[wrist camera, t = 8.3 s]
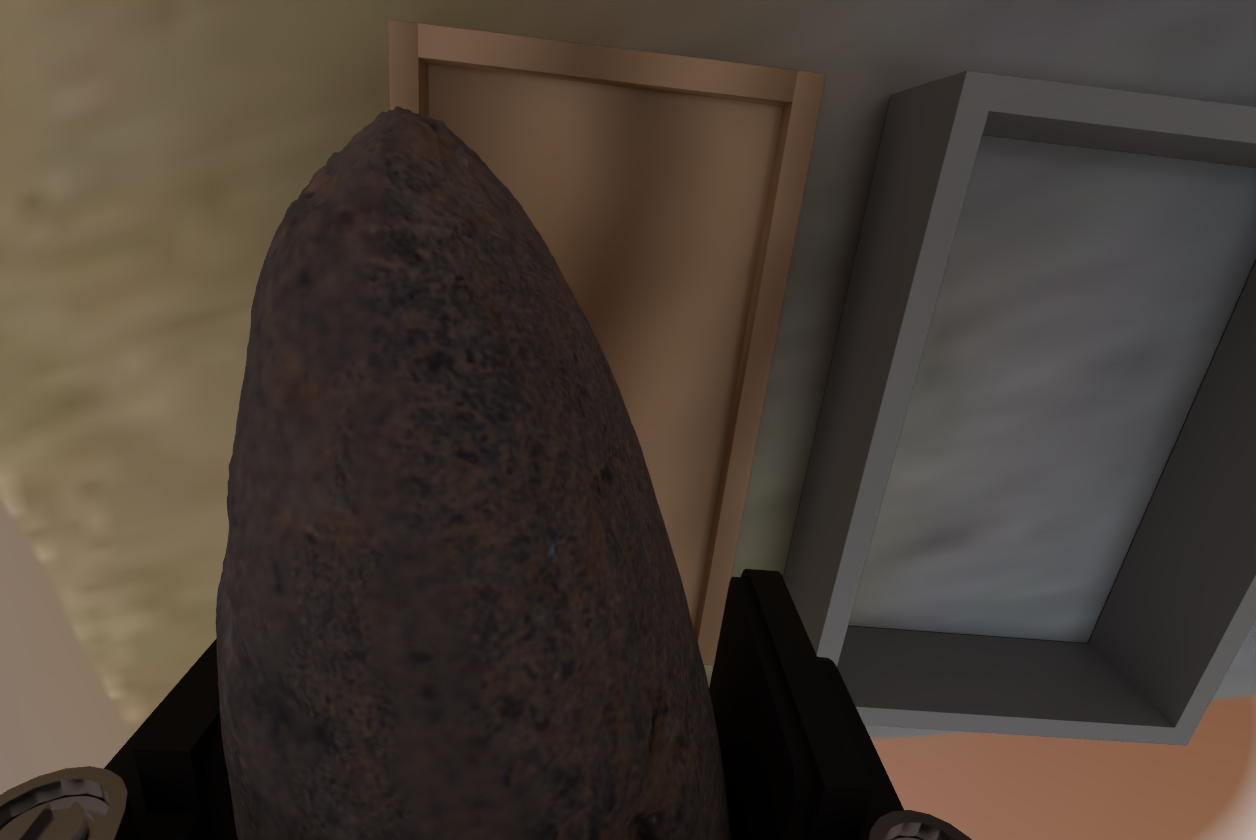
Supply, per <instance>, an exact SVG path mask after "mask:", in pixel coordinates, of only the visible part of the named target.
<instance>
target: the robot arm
mask: <svg viewBox="0 0 1256 840" xmlns="http://www.w3.org/2000/svg"><path fill="white" fill-rule="evenodd" d="M709 692H710V696H711V701H712V706H713V711H714V716H715V721H716V727H717V732H718V738H719V743H720V749H721V755H722V763H723V770H724V779H725V785H726V794H727V801H728V809H729V816H730V826H731V833H732V840H971V839H970V838H969V837H968V836H966V835H965V834H964V833H962V832H961V831H959V830H958V829H956V828H955V827H954V826H952V825H951V824H949V823H947V822H945V821H943V820H941V819H938V818H936V817H934V816H932V815H930V814H925V813H921V812H916V811H912V810H904V809H903V807H902V805H901V802H900V800H899V798H898V796H897V794H896V792H895V790H894V788H893V786H892V783H891V781H890V779H889V777H888V775H887V773H886V770H885V768H884V766H883V764H882V762H881V760H880V758H879V756H878V753H877V751H876V749H875V747H874V745H873V743H872V741H871V738H870V736H869V734H868V732H867V730H866V728H865V726H864V723H863V721H862V719H861V717H860V715H859V713H858V711H857V708H856V706H855V704H854V702H853V700H852V698H851V696H850V693H849V691H848V689H847V687H846V685H845V683H844V681H843V679H842V676H841V674H840V672H839V670H838V668H837V666H836V665H835V663H834V662H833V661H832V660H831V659H829V658H825V657H817V655H816V653H815V650H814V648H813V646H812V643H811V641H810V639H809V636H808V634H807V632H806V630H805V627H804V625H803V623H802V620H801V618H800V616H799V614H798V611H797V609H796V607H795V604H794V602H793V600H792V598H791V595H790V593H789V591H788V588H787V586H786V584H785V581H784V579H783V577H782V575H781V573H780V572H778V571H767V570H754V569H745V570H743V573H742V575H741V577H732V578H731V580H730V582H729V587H728V592H727V597H726V603H725V608H724V613H723V619H722V624H721V629H720V635H719V640H718V645H717V650H716V656H715V661H714V666H713V672H712V677H711V682H710V688H709ZM219 703H220V699H219V687H218V668H217V639H216V640H215V641H214V642H213V643H212V644H211V645H210V647H209V648H208V649H207V650H206V651H205V652H204V654H203V655H202V656H201V657H200V658H199V659H198V660H197V662H196V663H195V664H194V665H193V666H192V667H191V669H190V670H189V671H188V672H187V673H186V674H185V675H184V677H183V678H182V679H181V680H180V681H179V682H178V684H177V685H176V686H175V687H174V688H173V689H172V690H171V692H170V693H169V694H168V695H167V696H166V697H165V699H164V700H163V701H162V702H161V703H160V704H159V705H158V707H157V708H156V709H155V710H154V711H153V712H152V714H151V715H150V716H149V717H148V718H147V719H146V720H145V722H144V723H143V724H142V725H141V726H140V727H139V729H138V730H137V731H136V732H135V733H134V734H133V735H132V737H131V738H130V739H129V740H128V741H127V742H126V744H125V745H124V746H123V747H122V748H121V749H120V750H119V752H118V753H117V754H116V755H115V756H114V757H113V759H112V760H111V761H110V762H109V763H108V764H107V766H106V767H105V768H104V769H102V768H96V767H90V766H89V767H77V768H67V769H62V770H59V771H55V772H52V773H49V774H45V775H41V776H38V777H36V778H33V779H31V780H29V781H27V782H25V783H22V784H20V785H18V786H16V787H14V788H11V789H9V790H8V791H6V792H4V793H3V794H1V795H0V840H238V837H237V833H236V827H235V820H234V810H233V803H232V797H231V789H230V785H229V780H228V771H227V766H226V762H225V756H224V748H223V740H222V733H221V719H220V709H219Z"/></svg>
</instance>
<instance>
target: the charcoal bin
mask: <svg viewBox="0 0 1256 840" xmlns="http://www.w3.org/2000/svg"><path fill="white" fill-rule="evenodd" d="M982 135H987V136H996V137H1004V138H1012V139H1020V140H1029V141H1037V142H1045V143H1054V144H1062V145H1070V146H1079V147H1087V148H1095V149H1104V150H1112V151H1120V152H1129V153H1137V154H1145V155H1154V156H1162V157H1170V158H1179V159H1187V160H1195V161H1204V162H1212V163H1220V164H1229V165H1237V166H1245V167H1253V168H1256V107H1251V106H1243V105H1235V104H1227V103H1219V102H1211V101H1203V100H1195V99H1187V98H1179V97H1171V96H1164V95H1156V94H1148V93H1140V92H1132V91H1124V90H1116V89H1108V88H1100V87H1092V86H1084V85H1076V84H1068V83H1060V82H1052V81H1044V80H1037V79H1029V78H1021V77H1013V76H1005V75H997V74H989V73H981V72H973V71H965V72H962V73H958V74H955V75H952V76H949V77H946V78H943V79H940V80H936V81H933V82H930V83H927V84H924V85H921V86H918V87H914V88H911V89H908V90H905V91H902V92H899V93H896V94H892V95H891V97H890V102H889V106H888V111H887V115H886V120H885V124H884V129H883V133H882V138H881V142H880V147H879V151H878V156H877V160H876V165H875V169H874V174H873V178H872V182H871V187H870V191H869V196H868V200H867V205H866V209H865V214H864V218H863V223H862V227H861V232H860V236H859V241H858V245H857V250H856V254H855V259H854V263H853V268H852V272H851V277H850V281H849V286H848V290H847V295H846V299H845V303H844V308H843V312H842V317H841V321H840V326H839V330H838V335H837V339H836V344H835V348H834V353H833V357H832V362H831V366H830V371H829V375H828V380H827V384H826V389H825V393H824V398H823V402H822V407H821V411H820V415H819V420H818V424H817V429H816V433H815V438H814V442H813V447H812V451H811V456H810V460H809V465H808V469H807V474H806V478H805V483H804V487H803V492H802V496H801V501H800V505H799V510H798V514H797V519H796V523H795V527H794V532H793V536H792V541H791V545H790V550H789V554H788V559H787V563H786V568H785V572H784V577H783V579H784V581H785V584H786V586H787V588H788V591H789V593H790V595H791V598H792V600H793V602H794V604H795V607H796V609H797V611H798V614H799V616H800V618H801V620H802V623H803V625H804V627H805V630H806V632H807V634H808V636H809V639H810V641H811V643H812V646H813V648H814V650H815V653H816V655H817V657H825V658H829V659H831V660H832V661H833V662H834V663H835V665H836V666H837V668H838V670H839V672H840V674H841V676H842V679H843V681H844V683H845V685H846V687H847V689H848V691H849V693H850V696H851V698H852V700H853V702H854V704H855V706H856V708H857V711H858V713H859V715H860V717H861V719H862V721H863V723H864V725H871V726H887V727H902V728H918V729H934V730H949V731H965V732H981V733H997V734H1012V735H1028V736H1043V737H1060V738H1074V739H1090V740H1106V741H1121V742H1137V743H1154V744H1168V745H1169V744H1170V745H1184V746H1185V745H1187V744H1188V743H1189V741H1190V739H1191V737H1192V735H1193V733H1194V731H1195V730H1196V728H1197V726H1198V724H1199V722H1200V720H1201V719H1202V717H1203V715H1204V713H1205V711H1206V709H1207V707H1208V706H1209V704H1210V702H1211V700H1212V698H1213V696H1214V695H1215V693H1216V691H1217V689H1218V687H1219V685H1220V684H1221V682H1222V680H1223V678H1224V676H1225V674H1226V673H1227V671H1228V669H1229V667H1230V665H1231V663H1232V661H1233V660H1234V658H1235V656H1236V654H1237V652H1238V650H1239V649H1240V647H1241V645H1242V643H1243V641H1244V639H1245V637H1246V636H1247V634H1248V632H1249V630H1250V628H1251V626H1252V625H1253V623H1254V621H1255V619H1256V262H1255V264H1254V267H1253V269H1252V271H1251V273H1250V276H1249V278H1248V280H1247V283H1246V285H1245V287H1244V289H1243V292H1242V294H1241V296H1240V299H1239V301H1238V303H1237V305H1236V308H1235V310H1234V312H1233V314H1232V317H1231V319H1230V321H1229V324H1228V326H1227V328H1226V330H1225V333H1224V335H1223V337H1222V340H1221V342H1220V344H1219V346H1218V349H1217V351H1216V353H1215V356H1214V358H1213V360H1212V362H1211V365H1210V367H1209V369H1208V372H1207V374H1206V376H1205V378H1204V381H1203V383H1202V385H1201V387H1200V390H1199V392H1198V394H1197V397H1196V399H1195V401H1194V403H1193V406H1192V408H1191V410H1190V413H1189V415H1188V417H1187V419H1186V422H1185V424H1184V426H1183V429H1182V431H1181V433H1180V435H1179V438H1178V440H1177V442H1176V445H1175V447H1174V449H1173V451H1172V454H1171V456H1170V458H1169V460H1168V463H1167V465H1166V467H1165V470H1164V472H1163V474H1162V476H1161V479H1160V481H1159V483H1158V486H1157V488H1156V490H1155V492H1154V495H1153V497H1152V499H1151V502H1150V504H1149V506H1148V508H1147V511H1146V513H1145V515H1144V517H1143V520H1142V522H1141V524H1140V527H1139V529H1138V531H1137V533H1136V536H1135V538H1134V540H1133V543H1132V545H1131V547H1130V549H1129V552H1128V554H1127V556H1126V559H1125V561H1124V563H1123V565H1122V568H1121V570H1120V572H1119V575H1118V577H1117V579H1116V581H1115V584H1114V586H1113V588H1112V590H1111V593H1110V595H1109V597H1108V600H1107V602H1106V604H1105V606H1104V609H1103V611H1102V613H1101V616H1100V618H1099V620H1098V622H1097V625H1096V627H1095V629H1094V632H1093V634H1092V636H1091V638H1090V641H1089V643H1088V644H1086V643H1072V642H1059V641H1045V640H1031V639H1018V638H1004V637H990V636H977V635H963V634H949V633H935V632H922V631H908V630H894V629H881V628H867V627H853V626H848V624H849V620H850V617H851V613H852V609H853V606H854V602H855V598H856V595H857V591H858V587H859V584H860V580H861V576H862V573H863V569H864V565H865V562H866V558H867V554H868V551H869V547H870V544H871V540H872V536H873V533H874V529H875V525H876V522H877V518H878V514H879V511H880V507H881V503H882V500H883V496H884V492H885V489H886V485H887V481H888V478H889V474H890V470H891V467H892V463H893V459H894V456H895V452H896V448H897V445H898V441H899V437H900V434H901V430H902V426H903V423H904V419H905V415H906V412H907V408H908V405H909V401H910V397H911V394H912V390H913V386H914V383H915V379H916V375H917V372H918V368H919V364H920V361H921V357H922V353H923V350H924V346H925V342H926V339H927V335H928V331H929V328H930V324H931V320H932V317H933V313H934V309H935V306H936V302H937V298H938V295H939V291H940V287H941V284H942V280H943V276H944V273H945V269H946V266H947V262H948V258H949V255H950V251H951V247H952V244H953V240H954V236H955V233H956V229H957V225H958V222H959V218H960V214H961V211H962V207H963V203H964V200H965V196H966V192H967V189H968V185H969V181H970V178H971V174H972V170H973V167H974V163H975V159H976V156H977V152H978V148H979V145H980V141H981V137H982Z"/></svg>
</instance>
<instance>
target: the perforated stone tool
mask: <svg viewBox="0 0 1256 840" xmlns="http://www.w3.org/2000/svg"><path fill="white" fill-rule="evenodd" d="M227 510H228V518H229V535H228V543H227V549H226V555H225V558H224V561H223V571H222V575H221V581H220V584H219V587H218V594H217V607H216V632H217V668H218V687H219V699H220V703H219V709H220V719H221V733H222V740H223V748H224V756H225V762H226V766H227V771H228V780H229V785H230V789H231V797H232V803H233V810H234V820H235V827H236V833H237V837H238V840H732V833H731V826H730V816H729V809H728V801H727V794H726V785H725V779H724V770H723V763H722V755H721V749H720V743H719V738H718V732H717V727H716V721H715V716H714V711H713V706H712V701H711V696H710V692H709V686H708V682H707V677H706V673H705V668H704V665H703V661H702V657H701V653H700V649H699V645H698V641H697V638H696V635H695V631H694V628H693V624H692V620H691V616H690V612H689V608H688V603H687V599H686V595H685V591H684V587H683V583H682V580H681V576H680V573H679V570H678V566H677V563H676V559H675V557H674V553H673V550H672V547H671V543H670V540H669V537H668V533H667V530H666V526H665V523H664V520H663V517H662V514H661V511H660V507H659V505H658V502H657V499H656V495H655V491H654V488H653V485H652V481H651V478H650V474H649V471H648V468H647V465H646V462H645V459H644V456H643V451H642V448H641V446H640V443H639V440H638V437H637V435H636V432H635V429H634V427H633V425H632V423H631V420H630V417H629V414H628V411H627V409H626V406H625V404H624V401H623V398H622V395H621V392H620V389H619V387H618V385H617V383H616V381H615V378H614V375H613V373H612V371H611V368H610V366H609V364H608V362H607V360H606V357H605V355H604V353H603V351H602V348H601V346H600V344H599V342H598V340H597V338H596V337H595V334H594V332H593V331H592V328H591V326H590V323H589V321H588V320H587V318H586V316H585V314H584V313H583V311H582V309H581V307H580V306H579V304H578V302H577V300H576V298H575V296H574V294H573V291H572V290H571V288H570V286H569V285H568V283H567V282H566V280H565V278H564V276H563V274H562V272H561V270H560V269H559V266H558V264H557V262H556V260H555V258H554V257H553V255H552V254H551V252H550V250H549V248H548V246H547V245H546V243H545V241H544V240H543V238H542V236H541V235H540V233H539V232H538V231H537V229H536V228H535V227H534V225H533V223H532V221H531V220H530V218H529V217H528V215H527V214H526V212H525V211H524V209H523V207H522V205H521V204H520V203H519V202H518V200H517V199H516V198H514V196H513V194H512V193H511V192H510V190H509V189H508V188H507V187H506V186H505V185H504V184H503V183H502V182H501V181H500V180H499V179H498V178H497V177H496V176H495V174H494V173H493V172H492V171H491V169H489V168H488V166H487V165H486V163H484V162H483V161H482V160H481V159H480V157H479V155H478V154H477V153H476V152H475V151H473V150H472V149H471V148H469V147H468V146H467V145H466V144H465V142H463V141H462V140H461V139H460V138H459V137H458V136H457V135H455V134H454V133H453V132H452V131H451V130H450V129H448V128H447V126H446V124H445V123H444V121H439V120H435V119H433V118H427V117H423V116H421V115H419V114H417V113H413V112H412V111H411V110H409V109H403V108H402V107H399V106H396V107H395V109H394V110H389V111H388V112H387V113H385V112H381V113H380V114H379V115H378V116H377V117H376V119H375V120H374V121H373V122H372V123H371V124H370V125H368V126H367V127H365V128H364V129H363V130H362V131H360V132H358V133H357V134H356V135H355V136H354V137H353V138H352V140H351V141H350V142H349V143H348V144H347V146H345V147H344V149H343V150H342V151H341V152H339V153H337V152H336V153H333V154H332V156H331V157H330V158H329V159H328V161H327V163H326V165H325V166H324V167H323V168H321V169H319V170H318V171H317V172H316V173H315V174H314V175H313V178H312V179H311V181H310V183H309V185H308V186H307V187H306V188H304V189H303V191H302V193H301V194H300V196H299V199H298V200H295V201H294V202H292V203H291V205H290V206H289V208H288V209H287V211H286V214H285V217H284V219H283V220H282V222H281V224H280V225H279V227H278V229H277V231H276V233H275V235H274V237H273V240H272V243H271V245H270V247H269V250H268V253H267V256H266V258H265V261H264V264H263V267H262V270H261V273H260V276H259V280H258V283H257V286H256V292H255V296H254V300H253V305H252V310H251V329H250V338H249V343H248V347H247V360H246V368H245V374H244V380H243V385H242V390H241V397H240V403H239V412H238V417H237V423H236V434H235V440H234V444H233V455H232V458H231V461H230V464H229V480H228V496H227Z"/></svg>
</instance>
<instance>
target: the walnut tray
mask: <svg viewBox="0 0 1256 840" xmlns="http://www.w3.org/2000/svg"><path fill="white" fill-rule="evenodd" d="M388 55H389V97H390V110H394V109H395V107H396V106H399V107H402V108H403V109H409V110H411V111H412V112H413V113H417V114H419V115H421V116H423V117H427V118H433V119H435V120H439V121H444V123H445V124H446V126H447V128H448V129H450V130H451V131H452V132H453V133H454V134H455V135H457V136H458V137H459V138H460V139H461V140H462V141H463V142H465V144H466V145H467V146H468V147H469V148H471V149H472V150H473V151H475V152H476V153H477V154H478V155H479V157H480V159H481V160H482V161H483V162H484V163H486V165H487V166H488V168H489V169H491V171H492V172H493V173H494V174H495V176H496V177H497V178H498V179H499V180H500V181H501V182H502V183H503V184H504V185H505V186H506V187H507V188H508V189H509V190H510V192H511V193H512V194H513V196H514V198H516V199H517V200H518V202H519V203H520V204H521V205H522V207H523V209H524V211H525V212H526V214H527V215H528V217H529V218H530V220H531V221H532V223H533V225H534V227H535V228H536V229H537V231H538V232H539V233H540V235H541V236H542V238H543V240H544V241H545V243H546V245H547V246H548V248H549V250H550V252H551V254H552V255H553V257H554V258H555V260H556V262H557V264H558V266H559V269H560V270H561V272H562V274H563V276H564V278H565V280H566V282H567V283H568V285H569V286H570V288H571V290H572V291H573V294H574V296H575V298H576V300H577V302H578V304H579V306H580V307H581V309H582V311H583V313H584V314H585V316H586V318H587V320H588V321H589V323H590V326H591V328H592V331H593V332H594V334H595V337H596V338H597V340H598V342H599V344H600V346H601V348H602V351H603V353H604V355H605V357H606V360H607V362H608V364H609V366H610V368H611V371H612V373H613V375H614V378H615V381H616V383H617V385H618V387H619V389H620V392H621V395H622V398H623V401H624V404H625V406H626V409H627V411H628V414H629V417H630V420H631V423H632V425H633V427H634V429H635V432H636V435H637V437H638V440H639V443H640V446H641V448H642V451H643V456H644V459H645V462H646V465H647V468H648V471H649V474H650V478H651V481H652V485H653V488H654V491H655V495H656V499H657V502H658V505H659V507H660V511H661V514H662V517H663V520H664V523H665V526H666V530H667V533H668V537H669V540H670V543H671V547H672V550H673V553H674V557H675V559H676V563H677V566H678V570H679V573H680V576H681V580H682V583H683V587H684V591H685V595H686V599H687V603H688V608H689V612H690V616H691V620H692V624H693V628H694V631H695V635H696V638H697V641H698V645H699V649H700V653H701V657H702V661H703V665H711V666H714V661H715V656H716V650H717V645H718V640H719V635H720V629H721V624H722V619H723V613H724V608H725V603H726V597H727V592H728V587H729V582H730V580H731V575H732V569H733V564H734V559H735V554H736V548H737V543H738V538H739V532H740V527H741V522H742V517H743V511H744V506H745V501H746V496H747V490H748V485H749V480H750V474H751V469H752V464H753V459H754V453H755V448H756V443H757V437H758V432H759V427H760V422H761V416H762V411H763V406H764V401H765V395H766V390H767V385H768V379H769V374H770V369H771V364H772V358H773V353H774V348H775V342H776V337H777V332H778V327H779V321H780V316H781V311H782V306H783V300H784V295H785V290H786V284H787V279H788V274H789V269H790V263H791V258H792V253H793V247H794V242H795V237H796V232H797V226H798V221H799V216H800V210H801V205H802V200H803V195H804V189H805V184H806V179H807V174H808V168H809V163H810V158H811V152H812V147H813V142H814V137H815V131H816V126H817V121H818V115H819V110H820V105H821V100H822V94H823V89H824V84H825V79H826V74H823V73H815V72H807V71H799V70H791V69H783V68H775V67H766V66H758V65H750V64H742V63H734V62H726V61H718V60H710V59H702V58H694V57H686V56H678V55H670V54H662V53H654V52H646V51H638V50H629V49H621V48H613V47H605V46H597V45H589V44H581V43H573V42H565V41H557V40H549V39H541V38H533V37H525V36H517V35H509V34H501V33H492V32H484V31H476V30H468V29H460V28H452V27H444V26H436V25H428V24H420V23H412V22H404V21H396V20H388Z"/></svg>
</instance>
